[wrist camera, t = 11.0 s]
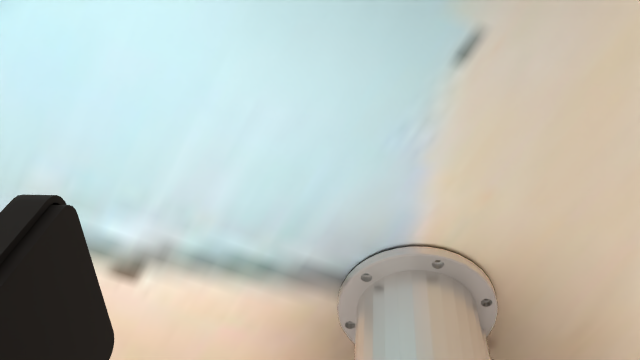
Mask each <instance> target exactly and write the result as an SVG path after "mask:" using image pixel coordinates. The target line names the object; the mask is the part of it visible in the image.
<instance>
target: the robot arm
mask: <svg viewBox="0 0 640 360" xmlns="http://www.w3.org/2000/svg"><path fill="white" fill-rule="evenodd" d="M337 310H338V319H339V322H340V325H341V327H342V329H343V331H344V332H345V334H346V335H347V337H348V338H349V339H350V340H351V341H352V342H353V343H354V344H355V360H493V359H491V358H490V356H489V351H488V346H487V340H486V337H487V336H488V335H489V334H490V332H491V330H492V328H493V327H494V325H495V322H496V318H497V314H498V311H497V299H496V295H495V290H494V288H493V286H492V284H491V281H490V279H489V278H488V277H487V276H486V274H485V273H484V272H483V271H482V270H481V269H480V268H479V267H478V266H477V265H475V264H474V263H473V262H472V261H470V260H468V259H466V258H464V257H462V256H461V255H459V254H456V253H453V252H450V251H447V250H444V249H438V248H432V247H416V246H412V247H403V248H396V249H392V250H388V251H385V252H381V253H379V254H377V255H374V256H372V257H370V258H368V259H366V260H365V261H363V262H362V263H361V264H359V265H358V266H356V267H355V268H354V269H353V270H352V271H351V272H350V273H349V274H348V276H347V277H346V279H345V281H344V282H343V284H342V286H341V289H340V292H339V295H338V306H337ZM113 346H114V333H113V329H112V325H111V322H110V319H109V316H108V312H107V309H106V306H105V302H104V299H103V296H102V293H101V289H100V286H99V283H98V280H97V276H96V273H95V270H94V267H93V263H92V260H91V257H90V253H89V250H88V247H87V244H86V240H85V237H84V234H83V231H82V227H81V224H80V221H79V217H78V214H77V212H76V210H75V208H74V207H73V206H70V205H66V203H65V201H64V200H63V199H62V198H61V197H59V196H57V195H19V196H17V197H15V198H14V199H13V200H12V201H11V202H10V203H9V204H8V205H7V206H6V207H5V208H4V209H3V210H2V211H1V212H0V360H109V359H110V356H111V354H112V351H113Z"/></svg>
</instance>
